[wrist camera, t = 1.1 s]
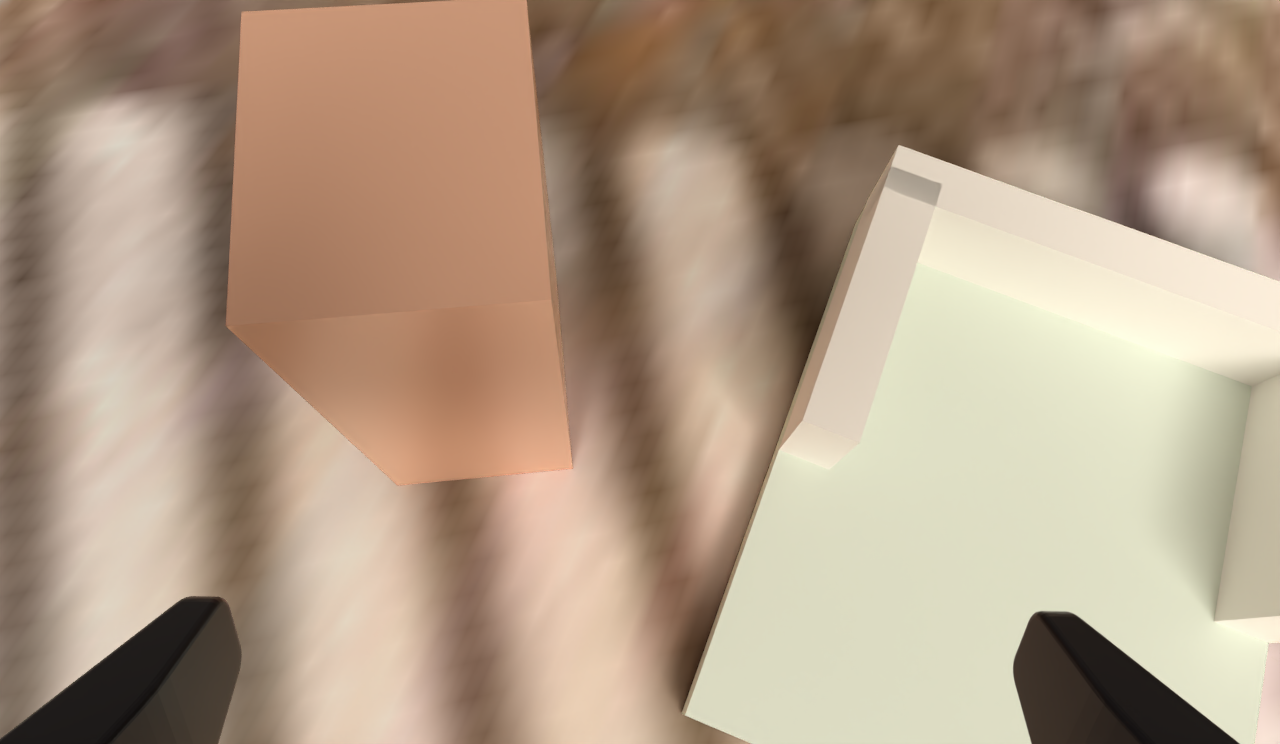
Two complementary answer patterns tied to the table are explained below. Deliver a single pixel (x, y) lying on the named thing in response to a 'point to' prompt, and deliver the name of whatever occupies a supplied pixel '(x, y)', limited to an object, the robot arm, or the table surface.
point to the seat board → (1006, 475)
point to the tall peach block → (401, 233)
